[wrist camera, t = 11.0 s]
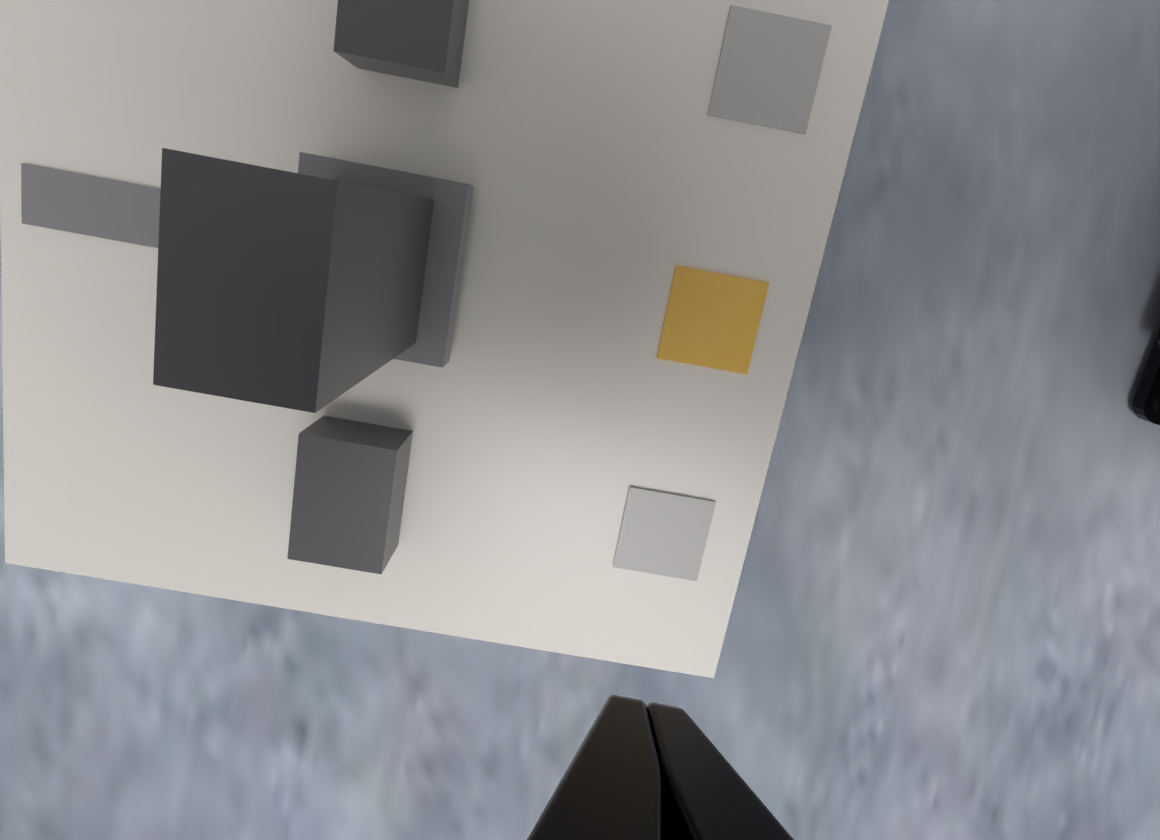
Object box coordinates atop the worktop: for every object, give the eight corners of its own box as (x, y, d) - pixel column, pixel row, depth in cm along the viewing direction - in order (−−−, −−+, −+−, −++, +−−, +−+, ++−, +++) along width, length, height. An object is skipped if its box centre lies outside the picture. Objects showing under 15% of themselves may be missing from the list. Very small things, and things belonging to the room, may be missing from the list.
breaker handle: (474, 185, 15) (393, 154, 8) (449, 360, 16) (359, 451, 9) (314, 155, 15) (109, 99, 8) (298, 333, 16) (103, 407, 9)
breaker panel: (858, -49, 17) (955, -147, 12) (695, 615, 21) (725, 717, 17) (99, -209, 16) (-81, -371, 12) (87, 514, 20) (-48, 593, 16)
